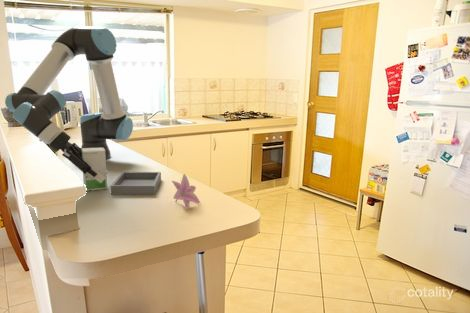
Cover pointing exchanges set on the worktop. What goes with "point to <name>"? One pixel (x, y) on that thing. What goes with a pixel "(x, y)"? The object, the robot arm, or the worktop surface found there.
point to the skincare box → (98, 162)
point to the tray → (136, 183)
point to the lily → (185, 192)
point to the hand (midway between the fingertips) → (104, 177)
